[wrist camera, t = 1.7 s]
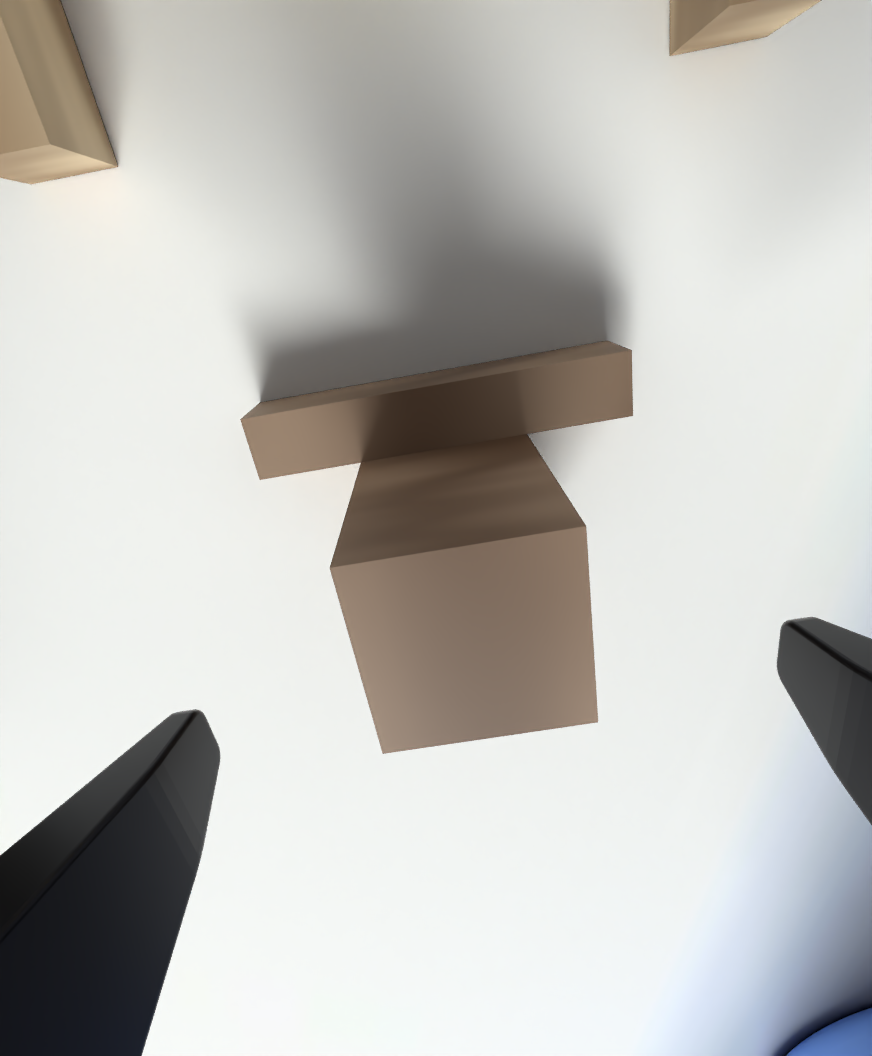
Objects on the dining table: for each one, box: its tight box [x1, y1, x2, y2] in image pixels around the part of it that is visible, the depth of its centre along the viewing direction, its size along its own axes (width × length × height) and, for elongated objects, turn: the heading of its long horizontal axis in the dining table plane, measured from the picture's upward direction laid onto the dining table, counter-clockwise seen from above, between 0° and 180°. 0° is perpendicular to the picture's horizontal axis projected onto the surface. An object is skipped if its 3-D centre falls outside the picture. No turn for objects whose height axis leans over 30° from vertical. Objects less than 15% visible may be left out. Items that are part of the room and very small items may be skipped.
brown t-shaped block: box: [240, 341, 633, 754], centre depth 12 cm, size 9×6×7 cm, turn 100°
